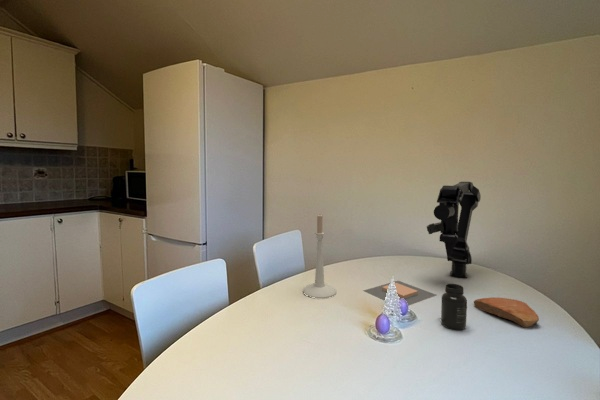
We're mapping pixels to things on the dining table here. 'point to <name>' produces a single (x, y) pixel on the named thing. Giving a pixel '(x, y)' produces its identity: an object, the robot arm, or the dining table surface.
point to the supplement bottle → (454, 307)
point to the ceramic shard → (508, 310)
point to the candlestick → (319, 270)
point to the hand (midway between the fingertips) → (448, 255)
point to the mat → (420, 297)
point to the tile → (402, 291)
